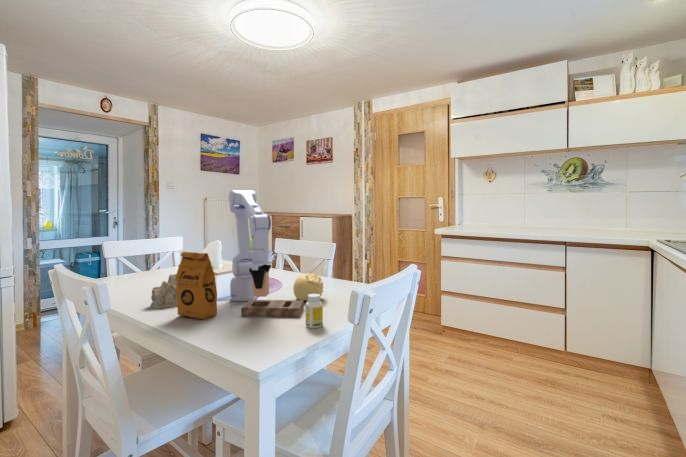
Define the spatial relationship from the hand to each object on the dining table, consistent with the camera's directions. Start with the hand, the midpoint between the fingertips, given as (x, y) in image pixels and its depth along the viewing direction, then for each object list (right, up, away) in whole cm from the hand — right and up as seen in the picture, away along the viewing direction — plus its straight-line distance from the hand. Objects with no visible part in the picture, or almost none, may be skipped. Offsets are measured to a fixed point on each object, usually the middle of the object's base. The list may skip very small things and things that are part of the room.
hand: (260, 286), depth 125 cm
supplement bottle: (+20, -10, -13) cm, 26 cm away
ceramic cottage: (-38, -8, +13) cm, 41 cm away
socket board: (+4, -9, 0) cm, 10 cm away
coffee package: (-21, -10, -4) cm, 23 cm away
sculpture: (+15, -8, +17) cm, 24 cm away
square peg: (0, -3, 0) cm, 3 cm away
